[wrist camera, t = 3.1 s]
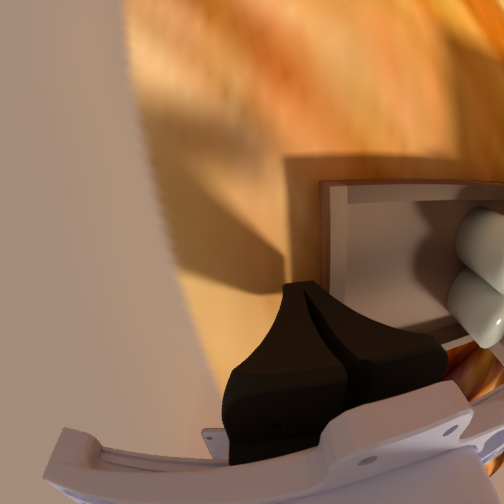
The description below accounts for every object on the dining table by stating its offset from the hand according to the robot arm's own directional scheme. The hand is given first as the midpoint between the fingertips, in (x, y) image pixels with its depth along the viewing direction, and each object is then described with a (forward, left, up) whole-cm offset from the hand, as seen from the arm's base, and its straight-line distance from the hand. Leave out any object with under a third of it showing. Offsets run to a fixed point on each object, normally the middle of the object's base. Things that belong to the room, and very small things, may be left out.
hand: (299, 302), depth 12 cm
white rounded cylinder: (-2, -11, -1) cm, 11 cm away
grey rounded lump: (+2, -11, -1) cm, 11 cm away
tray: (0, -8, -2) cm, 8 cm away
